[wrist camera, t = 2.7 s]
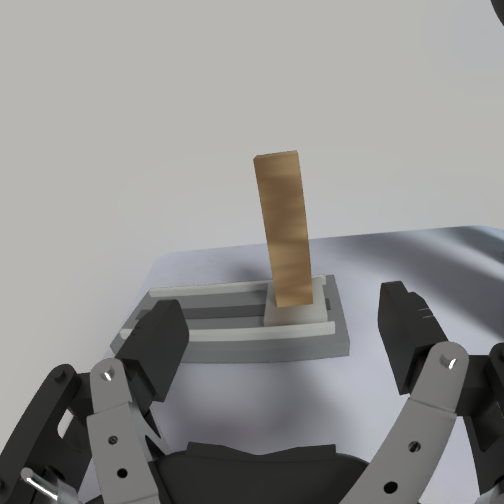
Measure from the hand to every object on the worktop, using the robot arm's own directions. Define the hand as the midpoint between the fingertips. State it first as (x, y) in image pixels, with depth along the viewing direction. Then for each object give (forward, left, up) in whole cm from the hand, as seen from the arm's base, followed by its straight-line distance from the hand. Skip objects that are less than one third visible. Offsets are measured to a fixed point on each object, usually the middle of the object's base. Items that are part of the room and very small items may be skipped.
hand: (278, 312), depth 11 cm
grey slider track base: (+6, -12, -10) cm, 17 cm away
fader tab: (0, -11, -8) cm, 14 cm away
